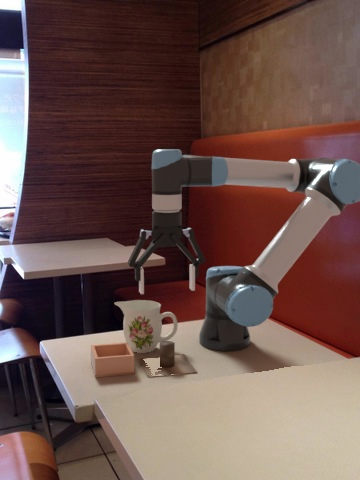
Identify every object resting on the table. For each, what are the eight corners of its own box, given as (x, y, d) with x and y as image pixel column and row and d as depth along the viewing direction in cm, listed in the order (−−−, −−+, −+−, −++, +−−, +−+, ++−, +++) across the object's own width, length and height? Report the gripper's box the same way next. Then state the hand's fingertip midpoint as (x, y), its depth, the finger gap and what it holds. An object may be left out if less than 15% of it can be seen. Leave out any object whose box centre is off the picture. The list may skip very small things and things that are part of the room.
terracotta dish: (127, 359, 162) (127, 342, 161) (134, 374, 152) (134, 355, 151) (91, 362, 159) (90, 345, 158) (95, 377, 150) (95, 358, 149)
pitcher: (177, 356, 165) (178, 308, 162) (113, 356, 164) (112, 308, 162) (176, 342, 176) (177, 298, 173) (116, 342, 175) (115, 297, 173)
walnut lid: (184, 357, 166) (184, 333, 165) (197, 374, 153) (197, 349, 152) (138, 361, 162) (138, 337, 161) (148, 379, 150) (148, 354, 149)
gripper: (209, 207, 157) (208, 284, 161) (116, 210, 151) (117, 290, 155) (218, 210, 150) (217, 291, 154) (120, 213, 144) (122, 298, 147)
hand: (167, 291), depth 154 cm, fingers open, 13 cm apart
